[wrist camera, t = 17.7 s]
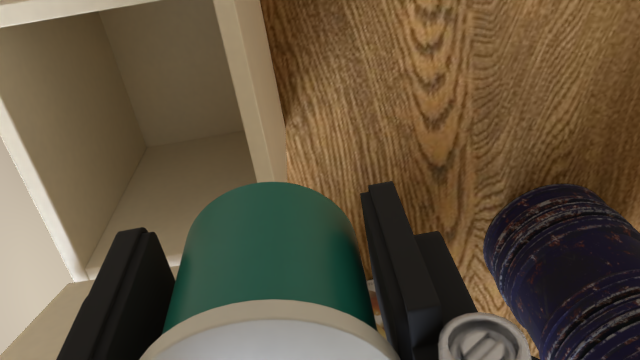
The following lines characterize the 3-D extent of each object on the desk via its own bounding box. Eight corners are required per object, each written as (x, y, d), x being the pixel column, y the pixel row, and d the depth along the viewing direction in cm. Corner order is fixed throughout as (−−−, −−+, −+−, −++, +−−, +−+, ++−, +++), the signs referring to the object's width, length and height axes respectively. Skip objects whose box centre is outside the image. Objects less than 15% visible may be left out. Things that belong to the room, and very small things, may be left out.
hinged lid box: (74, -35, 28) (-63, 15, 17) (247, -65, 28) (226, -35, 16) (141, 153, 33) (74, 284, 22) (285, 129, 33) (289, 248, 22)
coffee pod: (163, 166, 11) (101, 319, 7) (380, 169, 11) (435, 316, 7) (179, 327, 13) (139, 509, 9) (360, 325, 13) (393, 499, 10)
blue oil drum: (592, 285, 42) (736, 464, 29) (473, 293, 41) (564, 479, 28) (626, 178, 37) (817, 335, 24) (492, 185, 36) (612, 349, 23)
